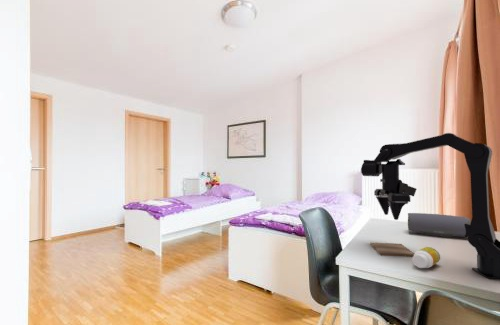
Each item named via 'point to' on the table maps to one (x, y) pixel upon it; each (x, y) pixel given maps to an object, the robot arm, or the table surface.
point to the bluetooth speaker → (437, 224)
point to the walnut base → (392, 249)
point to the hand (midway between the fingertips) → (390, 217)
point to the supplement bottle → (426, 257)
